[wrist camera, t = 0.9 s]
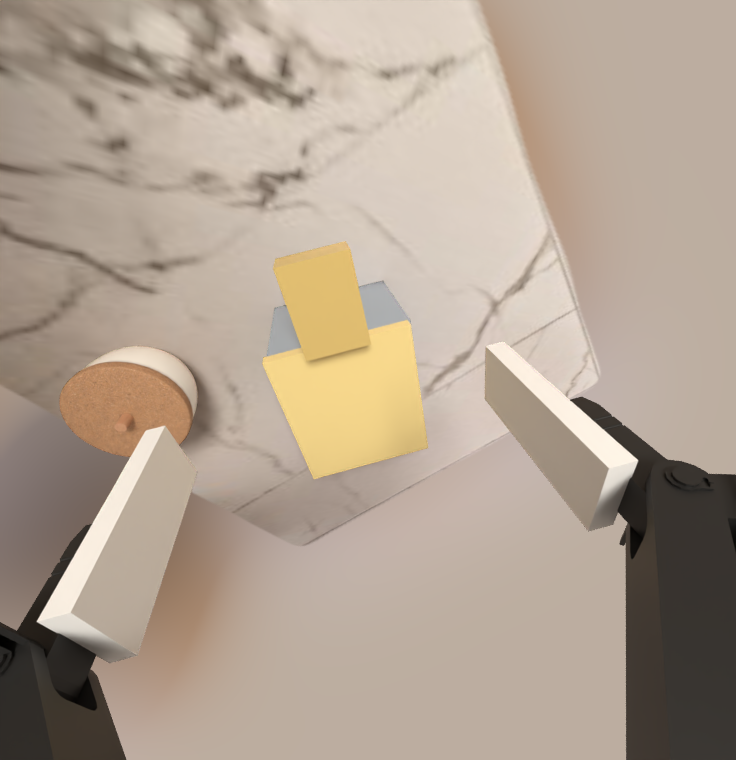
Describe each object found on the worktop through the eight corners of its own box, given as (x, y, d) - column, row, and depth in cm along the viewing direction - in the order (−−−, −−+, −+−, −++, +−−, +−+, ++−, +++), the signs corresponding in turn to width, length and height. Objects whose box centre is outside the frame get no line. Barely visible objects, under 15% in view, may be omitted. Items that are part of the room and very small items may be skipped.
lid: (225, 271, 23) (218, 282, 21) (394, 228, 24) (403, 235, 22) (313, 471, 35) (314, 491, 33) (425, 441, 35) (433, 458, 33)
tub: (274, 308, 36) (266, 357, 27) (382, 280, 37) (410, 320, 28) (311, 407, 44) (315, 471, 35) (400, 384, 45) (426, 441, 35)
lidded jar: (222, 355, 38) (202, 404, 30) (190, 423, 42) (166, 481, 35) (114, 312, 34) (59, 356, 26) (90, 392, 38) (37, 451, 30)
